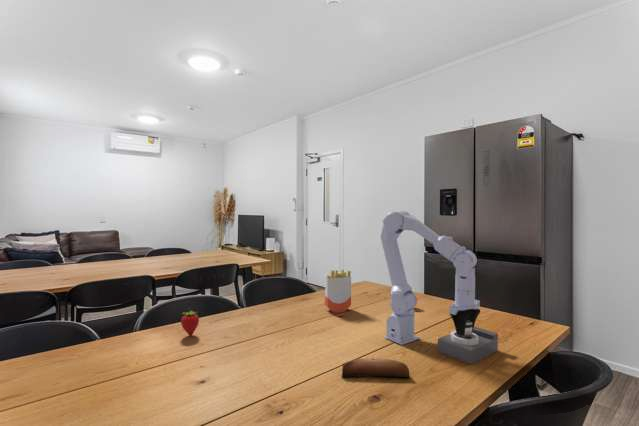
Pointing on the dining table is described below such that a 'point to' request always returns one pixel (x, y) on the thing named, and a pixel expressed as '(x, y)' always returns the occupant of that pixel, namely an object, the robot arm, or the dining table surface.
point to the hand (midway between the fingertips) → (464, 332)
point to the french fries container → (338, 291)
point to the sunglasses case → (375, 368)
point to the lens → (467, 331)
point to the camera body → (469, 345)
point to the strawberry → (190, 322)
